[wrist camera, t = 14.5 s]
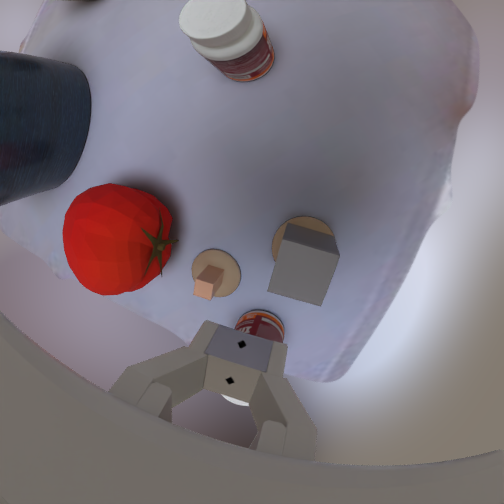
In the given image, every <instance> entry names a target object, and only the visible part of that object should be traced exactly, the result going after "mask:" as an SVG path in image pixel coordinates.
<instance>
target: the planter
mask: <svg viewBox="0 0 504 504" xmlns="http://www.w3.org/2000/svg"><path fill="white" fill-rule="evenodd" d="M90 109H91V102H90V91H89V86H88V83H87V80H86V78H85V76H84V74H83V73H82V71H81V70H80V69H79V68H77V67H76V66H74V65H71V64H67V63H63V62H59V61H55V60H51V59H46V58H42V57H37V56H32V55H27V54H21V53H14V52H7V51H0V206H2V205H5V204H8V203H10V202H13V201H16V200H19V199H22V198H25V197H28V196H31V195H34V194H37V193H40V192H43V191H47V190H50V189H53V188H56V187H58V186H59V185H61V184H62V183H63V182H64V181H65V180H66V179H67V178H68V177H69V175H70V174H71V173H72V171H73V170H74V168H75V166H76V164H77V162H78V160H79V158H80V156H81V153H82V150H83V148H84V144H85V141H86V137H87V133H88V128H89V121H90Z"/></svg>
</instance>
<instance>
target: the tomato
mask: <svg viewBox="0 0 504 504" xmlns="http://www.w3.org/2000/svg"><path fill="white" fill-rule="evenodd" d="M172 219H173V218H172V216H171V214H170V212H169V211H168V209H167V208H166V207H165V206H164V205H163V204H162V203H161V202H160V201H159V200H158V199H157V198H156V197H155V196H153V195H151V194H149V193H146V192H143V191H141V190H138V189H134V188H129V187H126V186H121V185H116V184H111V183H109V184H104V185H100V186H96V187H92V188H90V189H88V190H86V191H84V192H83V193H81V194H79V195H78V196H77V197H76V198H75V199H74V200H73V202H72V203H71V205H70V207H69V209H68V210H67V212H66V214H65V220H64V226H63V243H64V251H65V254H66V257H67V261H68V264H69V266H70V268H71V269H72V271H73V273H74V274H75V276H76V277H77V279H78V280H79V282H80V283H81V284H82V285H83V286H84V287H86V288H87V289H89V290H91V291H92V292H95V293H97V294H100V295H118V294H121V293H124V292H132V291H135V290H137V289H140V288H142V287H144V286H145V285H146V284H148V283H149V282H150V281H151V280H153V279H154V278H155V277H157V276H158V275H159V274H160V272H161V276H162V269H163V268H164V266H165V264H166V262H167V261H168V259H169V257H170V254H171V246H172V245H171V243H174V242H177V241H178V240H169V238H168V235H169V231H170V227H171V223H172Z"/></svg>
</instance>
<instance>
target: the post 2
mask: <svg viewBox="0 0 504 504" xmlns="http://www.w3.org/2000/svg"><path fill="white" fill-rule="evenodd" d="M287 223H291V224H295V225H298V226H302V227H305V228H309V229H312V230H315V231H319V232H322V233H325V234H329V235H332V236H334V235H333V233H332V231H331V230H330V228H329V227H328V226H327V225H326V224H325V223H323V222H322V221H320V220H318V219H316V218H313V217H307V216H301V217H296V218H292V219H290V220H288V221H287V222H285V223H284V224H283V225H282V226H281V227H280V228H279V229H278V230H277V232H276V234H275V236H274V239H273V243H272V254H273V257H274V260H275V262H276V259H277V256H278V252H279V249H280V245H281V242H282V238H283V235H284V232H285V229H286V226H287ZM334 238H335V237H334ZM335 241H336V240H335Z"/></svg>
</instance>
